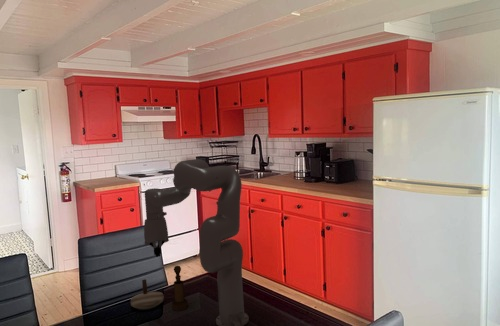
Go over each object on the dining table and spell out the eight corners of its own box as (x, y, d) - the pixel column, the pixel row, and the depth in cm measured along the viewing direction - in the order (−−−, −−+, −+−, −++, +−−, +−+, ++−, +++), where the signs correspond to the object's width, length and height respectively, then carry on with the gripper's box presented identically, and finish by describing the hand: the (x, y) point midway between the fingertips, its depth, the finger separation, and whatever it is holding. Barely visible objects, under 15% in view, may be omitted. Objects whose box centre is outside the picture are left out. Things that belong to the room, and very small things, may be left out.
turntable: (166, 303, 164) (165, 286, 164) (132, 311, 159) (131, 293, 158) (160, 292, 177) (159, 276, 176) (129, 298, 171) (127, 282, 171)
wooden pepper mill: (184, 311, 160) (181, 268, 158) (170, 310, 161) (166, 268, 160) (190, 304, 166) (187, 263, 165) (176, 303, 167) (173, 263, 166)
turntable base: (161, 306, 165) (161, 303, 165) (137, 312, 161) (137, 309, 161) (157, 298, 174) (157, 295, 174) (134, 303, 170) (134, 300, 170)
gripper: (169, 212, 180) (172, 251, 181) (136, 216, 174) (139, 256, 175) (173, 215, 173) (175, 255, 174) (139, 219, 167) (142, 261, 168)
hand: (157, 255), depth 175 cm, fingers closed
